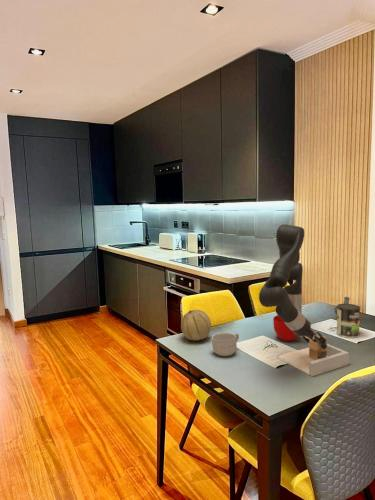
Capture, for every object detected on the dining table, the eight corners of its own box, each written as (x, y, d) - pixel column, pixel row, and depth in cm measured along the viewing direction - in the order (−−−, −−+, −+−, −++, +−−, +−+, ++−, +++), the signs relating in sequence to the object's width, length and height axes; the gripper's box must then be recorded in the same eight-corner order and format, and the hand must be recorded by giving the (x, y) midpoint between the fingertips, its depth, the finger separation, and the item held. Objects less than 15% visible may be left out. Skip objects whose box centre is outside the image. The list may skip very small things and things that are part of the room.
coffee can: (364, 336, 174) (365, 307, 172) (348, 339, 170) (349, 310, 168) (347, 329, 183) (347, 302, 182) (331, 332, 179) (332, 305, 177)
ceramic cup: (301, 348, 161) (302, 326, 160) (268, 339, 173) (268, 319, 172) (314, 339, 171) (314, 319, 170) (281, 332, 182) (281, 312, 181)
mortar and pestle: (350, 324, 191) (351, 301, 190) (332, 320, 197) (332, 299, 195) (356, 318, 200) (356, 297, 198) (338, 315, 206) (338, 294, 204)
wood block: (317, 361, 146) (317, 339, 145) (309, 357, 151) (309, 336, 149) (326, 358, 149) (327, 337, 148) (318, 354, 153) (318, 334, 152)
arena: (276, 357, 153) (276, 346, 152) (311, 348, 162) (311, 337, 161) (312, 376, 135) (312, 363, 135) (348, 364, 144) (348, 352, 144)
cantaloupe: (217, 340, 174) (217, 309, 172) (193, 347, 166) (192, 316, 164) (199, 331, 186) (198, 303, 184) (175, 338, 178) (174, 308, 176)
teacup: (220, 360, 151) (220, 342, 150) (207, 351, 161) (206, 334, 160) (247, 353, 158) (247, 336, 157) (233, 345, 167) (233, 328, 166)
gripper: (315, 318, 136) (336, 342, 143) (288, 309, 149) (308, 331, 156) (304, 335, 135) (326, 357, 141) (278, 324, 147) (299, 345, 154)
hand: (317, 344), depth 148 cm, fingers open, 8 cm apart
